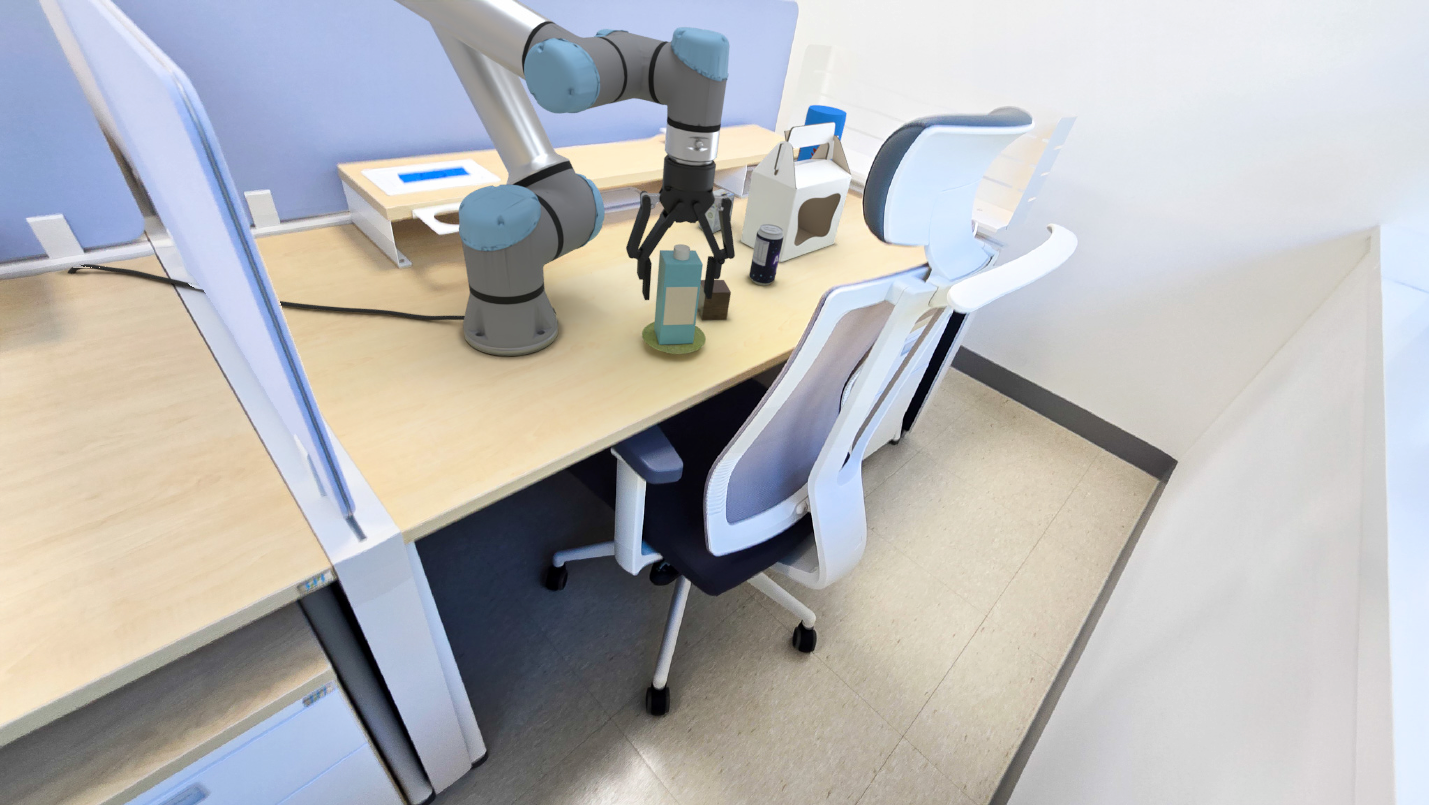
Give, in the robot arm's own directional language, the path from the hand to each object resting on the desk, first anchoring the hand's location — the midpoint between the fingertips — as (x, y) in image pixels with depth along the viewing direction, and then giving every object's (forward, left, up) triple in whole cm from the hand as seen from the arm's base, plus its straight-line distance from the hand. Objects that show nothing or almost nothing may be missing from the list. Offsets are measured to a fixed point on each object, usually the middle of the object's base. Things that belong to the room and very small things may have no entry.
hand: (677, 295), depth 96 cm
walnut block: (+10, +11, -10) cm, 18 cm away
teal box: (0, +5, -5) cm, 7 cm away
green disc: (0, 0, -10) cm, 10 cm away
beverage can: (+25, +24, -10) cm, 36 cm away
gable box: (+39, +44, -10) cm, 60 cm away
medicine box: (+22, +53, -10) cm, 58 cm away
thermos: (+57, +75, -10) cm, 95 cm away
